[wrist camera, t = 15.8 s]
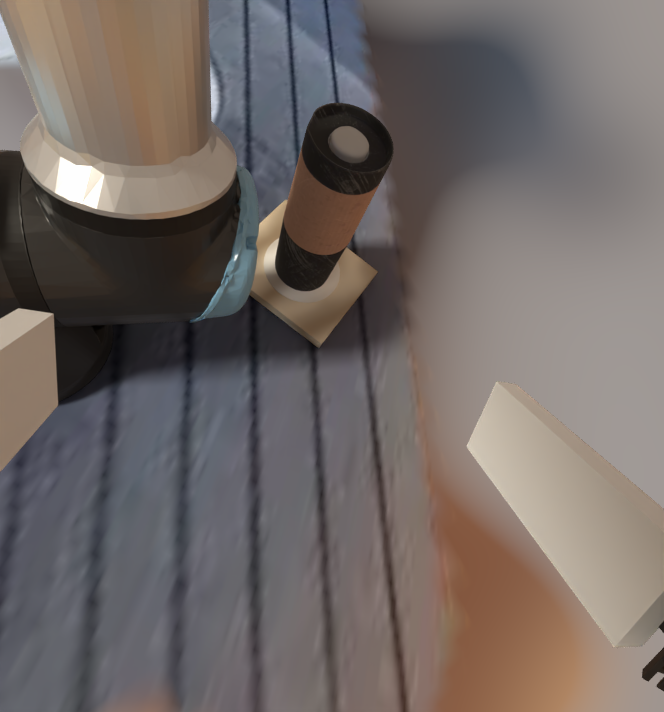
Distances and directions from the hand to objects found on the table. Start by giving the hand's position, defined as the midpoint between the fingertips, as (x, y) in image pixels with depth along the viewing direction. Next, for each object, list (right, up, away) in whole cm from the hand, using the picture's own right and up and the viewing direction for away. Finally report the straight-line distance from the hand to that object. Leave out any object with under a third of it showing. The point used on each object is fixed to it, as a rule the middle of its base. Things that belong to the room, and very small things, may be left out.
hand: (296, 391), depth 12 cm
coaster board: (-3, +12, +39) cm, 41 cm away
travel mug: (-3, +12, +38) cm, 40 cm away
